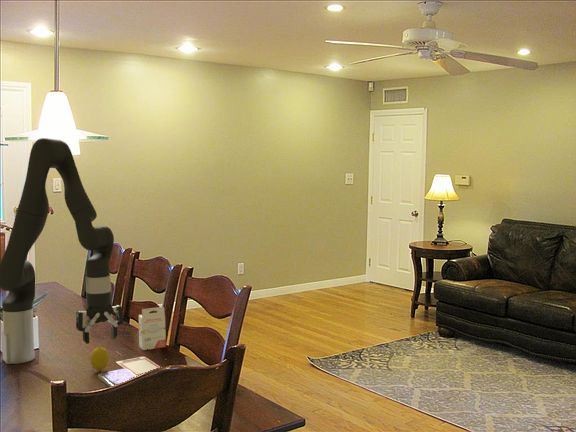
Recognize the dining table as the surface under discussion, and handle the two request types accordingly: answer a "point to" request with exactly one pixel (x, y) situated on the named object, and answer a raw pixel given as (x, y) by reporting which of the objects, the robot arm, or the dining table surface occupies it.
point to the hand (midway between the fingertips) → (100, 340)
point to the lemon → (99, 358)
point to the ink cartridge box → (152, 329)
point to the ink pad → (116, 376)
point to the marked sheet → (138, 365)
